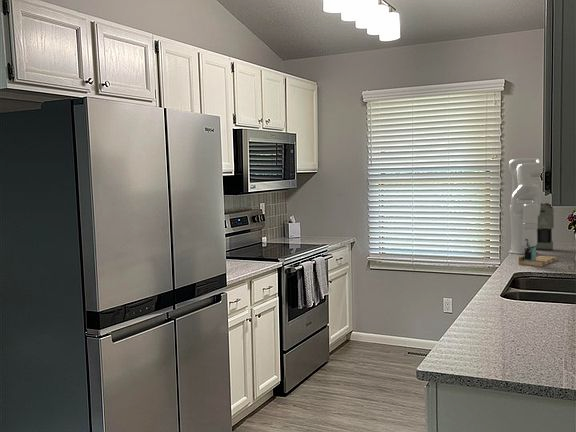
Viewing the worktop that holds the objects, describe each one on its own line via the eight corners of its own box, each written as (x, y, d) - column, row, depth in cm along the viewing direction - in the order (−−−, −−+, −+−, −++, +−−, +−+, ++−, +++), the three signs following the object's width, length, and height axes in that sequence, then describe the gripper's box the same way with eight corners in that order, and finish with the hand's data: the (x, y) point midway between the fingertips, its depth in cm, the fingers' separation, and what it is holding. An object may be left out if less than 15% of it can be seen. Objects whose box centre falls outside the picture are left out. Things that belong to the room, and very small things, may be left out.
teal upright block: (527, 259, 311) (527, 246, 310) (536, 259, 308) (536, 247, 307) (524, 260, 307) (524, 247, 307) (532, 261, 304) (532, 248, 303)
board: (534, 258, 324) (534, 251, 324) (556, 260, 316) (556, 253, 315) (518, 264, 307) (518, 256, 307) (541, 266, 299) (541, 258, 298)
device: (553, 249, 358) (554, 202, 355) (552, 250, 351) (552, 203, 349) (530, 248, 365) (530, 202, 363) (528, 249, 359) (528, 203, 356)
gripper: (529, 224, 315) (529, 256, 316) (517, 227, 302) (517, 260, 304) (542, 225, 309) (542, 257, 311) (531, 227, 297) (531, 261, 298)
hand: (530, 258), depth 307 cm, fingers open, 5 cm apart
